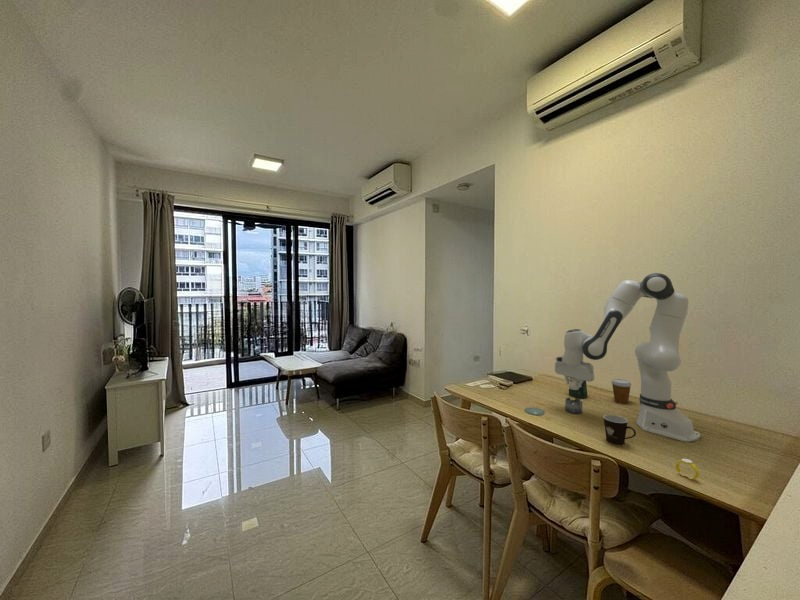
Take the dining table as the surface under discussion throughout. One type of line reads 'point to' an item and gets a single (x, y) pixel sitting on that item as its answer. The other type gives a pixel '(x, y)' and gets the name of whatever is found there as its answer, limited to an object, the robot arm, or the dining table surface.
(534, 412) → the coaster
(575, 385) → the cap
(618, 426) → the coffee mug
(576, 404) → the blue-gray holder
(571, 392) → the coffee jar
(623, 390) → the disposable coffee cup
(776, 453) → the dining table surface
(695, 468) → the watch
